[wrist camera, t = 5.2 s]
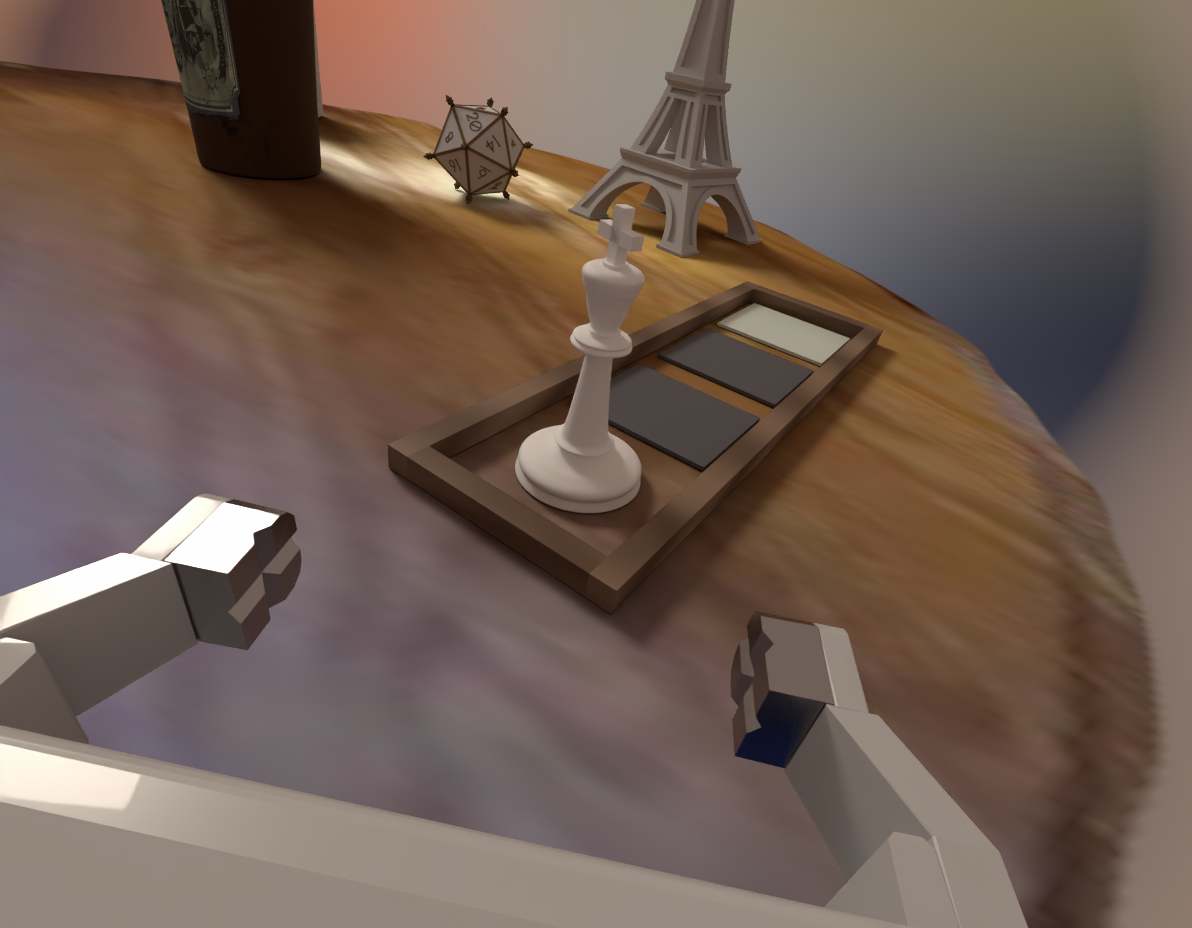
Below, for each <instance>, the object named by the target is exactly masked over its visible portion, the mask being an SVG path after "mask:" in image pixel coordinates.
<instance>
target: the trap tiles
mask: <svg viewBox="0 0 1192 928" xmlns="http://www.w3.org/2000/svg"><path fill="white" fill-rule="evenodd" d="M658 357H659V358H661V359H664V360H666V361H668V362H670V363H673V364H675V365H677V366H679V367H682V368H684V369H686V370H689V371H691V372H693V373H695V374H698V375H700V376H702V377H705V378H707V379H709V380H711V381H714V382H716V383H718V384H720V385H723V386H725V387H727V388H730V389H732V390H734V391H736V392H739V393H741V394H743V395H746V396H748V397H750V398H752V399H755V400H757V401H759V402H761V403H764V404H766V405H768V406H771V407H773V408H774V407H776V406H777V405H778V404H779V403H780V402H781V401H782V400H783V399H785V398H786V397H787V396H788V395H789V394H790V393H791V392H792V391H794V390H795V389H796V388H797V387H798V386H799V385H800V384H801V383H803V382H804V381H805V380H806V379H807V378H808V377H809V376H810V375H812V373H813V370H811V369H808V368H806V367H803V366H801V365H798V364H796V363H793V362H791V361H788V360H786V359H783V358H781V357H778V356H776V355H773V354H771V353H768V352H766V351H763V350H761V349H758V348H756V347H753V346H751V345H748V344H746V343H743V342H741V341H738V340H736V339H733V338H731V337H728V336H726V335H723V334H721V333H718V332H716V331H713V330H711V329H708V328H706V329H704V330H702V331H700V332H699V333H697V334H695V335H693V336H691V337H689V338H687V339H685V340H683V341H681V342H680V343H678V344H676V345H674V346H672V347H670V348H668V349H666V350H664V351H662V352H661V353H659V354H658ZM572 400H573V399H572ZM572 400H571V401H570V404H571V403H572ZM759 419H760V418H759V417H757V416H754V415H752V414H750V413H748V412H745V411H743V410H741V409H739V408H737V407H734V406H732V405H730V404H728V403H725V402H723V401H721V400H719V399H717V398H714V397H712V396H710V395H708V394H706V393H703V392H701V391H699V390H697V389H694V388H692V387H690V386H688V385H686V384H683V383H681V382H679V381H677V380H674V379H672V378H670V377H668V376H666V375H663V374H661V373H659V372H657V371H654V370H652V369H650V368H648V367H646V366H643V365H641V364H638V365H636V366H634V367H632V368H630V369H628V370H626V371H625V372H623V373H621V374H619V375H617V376H615V377H613V378H611V381H610V395H609V414H608V423H609V424H611V425H613V426H615V427H617V428H619V429H621V430H623V431H625V432H626V433H628V434H630V435H632V436H634V437H636V438H638V439H640V440H642V441H644V442H646V443H648V444H650V445H652V446H654V447H656V448H658V449H660V450H662V451H664V452H666V453H668V454H670V455H672V456H674V457H676V458H677V459H679V460H681V461H683V462H685V463H687V464H689V465H691V466H693V467H695V468H697V469H699V470H701V471H704V470H705V469H706V468H707V467H708V466H709V465H710V464H711V463H713V462H714V461H715V460H716V459H717V458H718V457H719V456H720V455H722V454H723V453H724V452H725V451H726V450H727V449H728V448H729V447H731V446H732V445H733V444H734V443H735V442H736V441H737V440H738V439H740V438H741V437H742V436H743V435H744V434H745V433H746V432H747V431H749V430H750V429H751V428H752V427H753V426H754V425H755V424H756V423H758V422H759Z"/></svg>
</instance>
